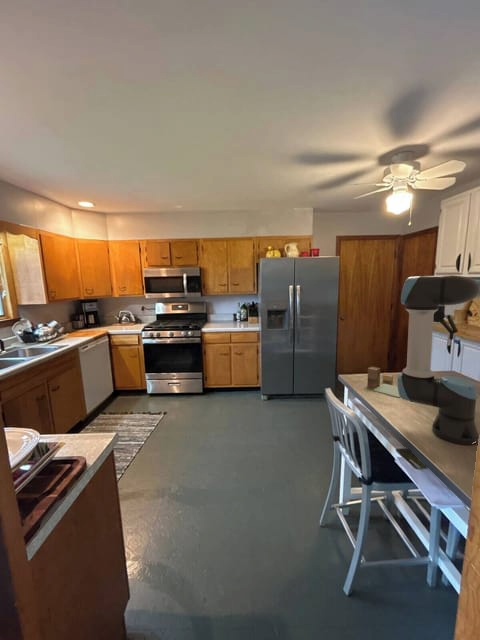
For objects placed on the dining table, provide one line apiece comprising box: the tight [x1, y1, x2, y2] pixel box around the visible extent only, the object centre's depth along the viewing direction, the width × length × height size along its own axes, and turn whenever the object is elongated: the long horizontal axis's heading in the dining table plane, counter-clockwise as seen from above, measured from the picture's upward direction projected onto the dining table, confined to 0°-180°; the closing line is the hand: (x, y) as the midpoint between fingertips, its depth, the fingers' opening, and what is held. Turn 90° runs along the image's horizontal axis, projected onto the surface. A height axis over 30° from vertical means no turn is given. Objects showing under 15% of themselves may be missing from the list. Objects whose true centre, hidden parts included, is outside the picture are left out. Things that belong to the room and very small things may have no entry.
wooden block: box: [366, 366, 381, 389], centre depth 168 cm, size 5×5×11 cm
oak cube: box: [382, 372, 394, 385], centre depth 173 cm, size 5×5×5 cm
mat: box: [372, 383, 401, 399], centre depth 161 cm, size 14×14×1 cm
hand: (434, 343), depth 156 cm, fingers open, 13 cm apart
